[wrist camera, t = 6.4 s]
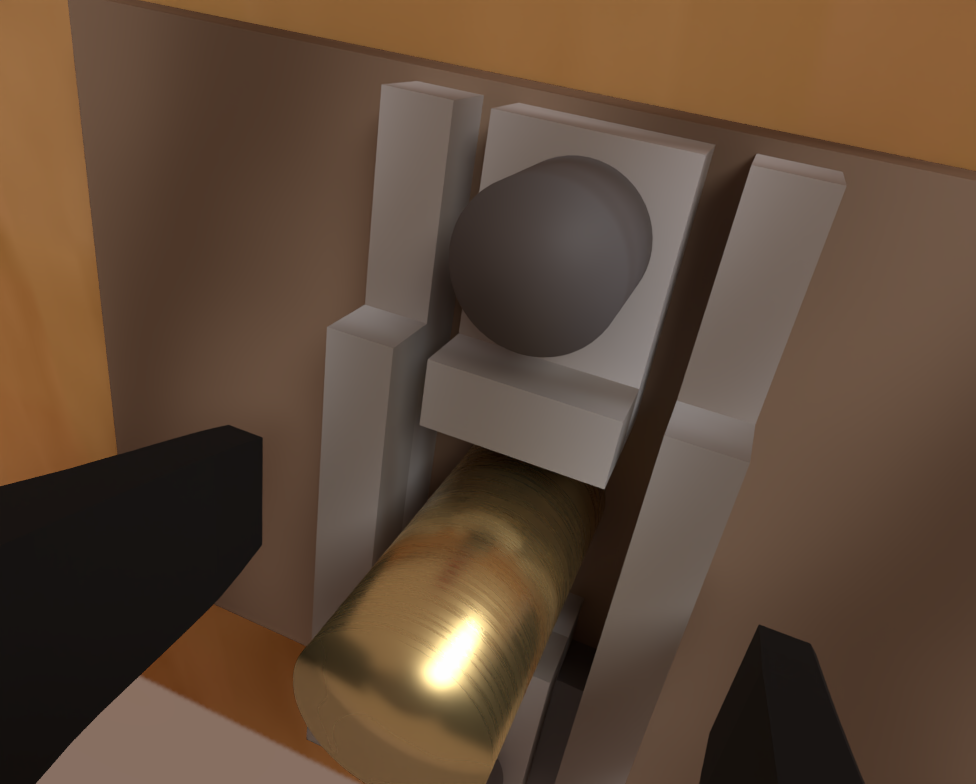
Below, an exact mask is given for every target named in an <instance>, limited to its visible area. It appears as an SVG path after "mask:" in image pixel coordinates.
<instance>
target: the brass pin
mask: <svg viewBox="0 0 976 784" xmlns="http://www.w3.org/2000/svg"><path fill="white" fill-rule="evenodd" d="M605 501H606V493H605V489H602V488H599V487H596V486H593V485H590V484H587V483H584V482H581V481H579V480H576V479H573V478H570V477H567V476H564V475H561V474H559V473H556V472H553V471H550V470H547V469H544V468H541V467H538V466H536V465H533V464H530V463H527V462H524V461H521V460H518V459H515V458H513V457H510V456H507V455H504V454H501V453H498V452H495V451H492V450H490V449H487V448H484V447H481V446H478V445H475V444H474V445H473V446H472V448H471V449H470V450H469V451H468V452H467V454H466V455H465V456H464V457H463V459H462V460H461V461H460V462H459V463H458V465H457V466H456V467H455V468H454V469H453V471H452V472H451V473H450V474H449V475H448V477H447V478H446V479H445V480H444V481H443V483H442V484H441V485H440V486H439V487H438V489H437V490H436V491H435V492H434V493H433V495H432V496H431V497H430V498H429V499H428V501H427V502H426V503H425V504H424V505H423V507H422V508H421V509H420V510H419V512H418V513H417V514H416V515H415V516H414V518H413V519H412V520H411V521H410V522H409V524H408V525H407V526H406V527H405V528H404V530H403V531H402V532H401V533H400V534H399V536H398V537H397V538H396V539H395V540H394V542H393V543H392V544H391V545H390V546H389V548H388V549H387V550H386V551H385V552H384V554H383V555H382V556H381V557H380V558H379V560H378V561H377V562H376V563H375V565H374V566H373V567H372V568H371V569H370V571H369V572H368V573H367V574H366V575H365V577H364V578H363V579H362V580H361V581H360V583H359V584H358V585H357V586H356V587H355V589H354V590H353V591H352V592H351V593H350V595H349V596H348V597H347V598H346V599H345V601H344V602H343V603H342V604H341V605H340V607H339V608H338V609H337V610H336V611H335V613H334V614H333V615H332V616H331V618H330V619H329V620H328V621H327V622H326V624H325V625H324V626H323V627H322V628H321V630H320V631H319V632H318V633H317V634H316V636H315V637H314V638H313V639H312V640H311V642H310V643H309V644H308V645H307V646H306V648H305V649H304V650H303V651H302V653H301V654H300V656H299V657H298V659H297V662H296V664H295V668H294V673H293V688H294V695H295V699H296V702H297V706H298V708H299V710H300V713H301V715H302V717H303V719H304V721H305V723H306V725H307V727H308V728H309V730H310V731H311V733H312V734H313V736H314V737H315V738H316V740H317V741H318V742H319V743H320V745H321V746H322V747H323V748H324V749H325V750H326V751H327V753H328V754H329V755H330V756H331V757H332V758H333V759H334V760H335V761H337V762H338V763H339V764H340V765H341V766H342V767H343V768H345V769H346V770H347V771H348V772H350V773H351V774H352V775H354V776H355V777H357V778H358V779H359V780H361V781H362V782H364V783H366V784H486V782H487V780H488V778H489V776H490V773H491V771H492V769H493V766H494V764H495V762H496V760H497V757H498V755H499V753H500V750H501V748H502V746H503V743H504V741H505V739H506V736H507V734H508V732H509V730H510V727H511V725H512V723H513V720H514V718H515V716H516V713H517V711H518V709H519V707H520V704H521V702H522V700H523V697H524V695H525V693H526V690H527V688H528V686H529V684H530V681H531V679H532V677H533V674H534V672H535V670H536V667H537V665H538V663H539V660H540V658H541V656H542V654H543V651H544V649H545V647H546V644H547V642H548V640H549V637H550V635H551V633H552V631H553V628H554V626H555V624H556V621H557V619H558V617H559V614H560V612H561V610H562V608H563V605H564V603H565V601H566V598H567V596H568V594H569V591H570V589H571V587H572V584H573V582H574V580H575V578H576V575H577V573H578V571H579V568H580V566H581V564H582V561H583V559H584V557H585V555H586V552H587V550H588V548H589V545H590V543H591V541H592V538H593V536H594V534H595V532H596V529H597V527H598V525H599V522H600V520H601V518H602V515H603V512H604V508H605Z"/></svg>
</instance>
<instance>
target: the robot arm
mask: <svg viewBox="0 0 976 784" xmlns="http://www.w3.org/2000/svg"><path fill="white" fill-rule="evenodd" d="M262 493H263V437H260V436H257V435H255V434H252V433H249V432H247V431H244V430H241V429H239V428H236V427H233V426H231V425H225V426H220V427H216V428H211V429H207V430H203V431H199V432H196V433H192V434H188V435H184V436H181V437H177V438H174V439H170V440H167V441H163V442H160V443H156V444H153V445H150V446H146V447H143V448H139V449H136V450H133V451H129V452H126V453H122V454H119V455H115V456H112V457H108V458H105V459H101V460H98V461H94V462H91V463H88V464H84V465H81V466H77V467H74V468H70V469H66V470H62V471H59V472H55V473H51V474H47V475H43V476H39V477H35V478H31V479H27V480H23V481H20V482H16V483H12V484H8V485H4V486H0V784H36V782H37V781H38V780H39V779H40V778H41V777H42V776H43V774H44V773H45V772H46V771H47V770H48V769H49V768H50V767H51V765H52V764H53V763H54V762H55V761H56V760H57V759H58V757H59V756H60V755H61V754H62V753H63V752H64V750H65V749H66V748H67V747H68V746H69V745H70V744H71V743H72V741H73V740H74V739H75V738H76V737H77V736H78V735H79V734H80V733H81V732H82V731H83V730H84V729H85V728H86V727H87V726H88V725H89V724H90V723H91V722H92V721H93V720H94V719H95V718H96V717H97V716H98V715H99V714H100V713H101V712H102V711H103V710H104V709H105V708H106V707H107V706H108V705H109V704H110V703H111V702H112V701H113V700H114V699H115V698H117V697H118V696H119V695H120V694H121V693H122V692H123V691H124V690H125V689H126V688H127V687H128V686H129V685H130V684H131V683H132V682H133V681H134V680H135V679H137V678H138V677H139V676H140V675H141V674H142V673H143V672H144V671H145V670H146V669H147V668H148V667H149V666H150V665H151V664H152V663H153V662H154V661H155V660H156V659H158V658H159V657H160V656H161V655H162V654H163V653H164V652H165V651H166V650H167V649H168V648H169V647H170V646H171V645H172V644H173V643H174V642H175V641H176V640H177V639H179V638H180V637H181V636H182V635H183V634H184V633H185V632H186V631H187V630H188V629H189V628H190V627H191V626H192V625H193V624H194V623H195V622H196V621H197V620H198V619H199V618H200V617H201V616H202V615H203V614H204V613H205V612H206V611H207V610H208V609H209V608H210V607H211V606H212V605H213V604H214V603H215V602H216V601H217V600H218V599H219V598H220V597H221V596H222V595H223V594H224V592H225V591H226V590H227V589H228V588H229V586H230V585H231V584H232V583H233V582H234V580H235V579H236V578H237V577H238V576H239V574H240V573H241V572H242V570H243V569H244V568H245V567H246V565H247V564H248V563H249V561H250V560H251V559H252V557H253V556H254V555H255V554H256V552H257V551H258V550H259V548H260V547H261V546H262ZM699 784H865V782H864V780H863V778H862V775H861V773H860V770H859V768H858V765H857V763H856V761H855V758H854V756H853V753H852V751H851V748H850V745H849V743H848V740H847V738H846V735H845V732H844V730H843V727H842V725H841V722H840V719H839V717H838V714H837V711H836V709H835V706H834V703H833V701H832V698H831V695H830V692H829V689H828V687H827V684H826V681H825V678H824V675H823V672H822V669H821V667H820V664H819V661H818V658H817V655H816V653H815V651H814V649H813V647H812V645H811V644H810V643H808V642H805V641H802V640H800V639H797V638H794V637H792V636H789V635H786V634H784V633H781V632H778V631H776V630H773V629H770V628H768V627H765V626H762V625H760V624H759V625H758V627H757V629H756V632H755V634H754V636H753V638H752V640H751V643H750V645H749V647H748V649H747V651H746V654H745V656H744V658H743V660H742V662H741V665H740V667H739V669H738V671H737V673H736V676H735V678H734V680H733V682H732V684H731V687H730V689H729V691H728V693H727V695H726V698H725V700H724V702H723V704H722V706H721V709H720V711H719V713H718V715H717V717H716V720H715V722H714V724H713V726H712V728H711V731H710V733H709V737H708V742H707V747H706V752H705V757H704V762H703V767H702V771H701V776H700V782H699Z"/></svg>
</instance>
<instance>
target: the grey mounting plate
mask: <svg viewBox="0 0 976 784" xmlns="http://www.w3.org/2000/svg"><path fill="white" fill-rule="evenodd" d="M68 7H69V16H70V25H71V34H72V43H73V52H74V61H75V70H76V79H77V88H78V98H79V107H80V116H81V125H82V134H83V143H84V152H85V161H86V170H87V179H88V189H89V198H90V207H91V216H92V225H93V234H94V243H95V252H96V261H97V270H98V279H99V289H100V298H101V307H102V316H103V325H104V334H105V343H106V352H107V361H108V370H109V379H110V389H111V398H112V407H113V416H114V425H115V434H116V443H117V452H118V455H119V454H122V453H126V452H129V451H133V450H136V449H139V448H143V447H146V446H150V445H153V444H156V443H160V442H163V441H167V440H170V439H174V438H177V437H181V436H184V435H188V434H192V433H196V432H199V431H203V430H207V429H211V428H216V427H220V426H225V425H231V426H233V427H236V428H239V429H241V430H244V431H247V432H249V433H252V434H255V435H257V436H260V437H263V493H262V546H261V547H260V548H259V550H258V551H257V552H256V554H255V555H254V556H253V557H252V559H251V560H250V561H249V563H248V564H247V565H246V567H245V568H244V569H243V570H242V572H241V573H240V574H239V576H238V577H237V578H236V579H235V580H234V582H233V583H232V584H231V585H230V586H229V588H228V589H227V590H226V591H225V592H224V594H223V595H222V596H221V597H220V598H219V599H218V600H217V601H216V602H215V603H214V604H215V605H217V606H219V607H221V608H224V609H226V610H228V611H230V612H232V613H235V614H237V615H239V616H241V617H243V618H246V619H248V620H250V621H252V622H254V623H257V624H259V625H261V626H263V627H265V628H268V629H270V630H272V631H274V632H276V633H279V634H281V635H283V636H285V637H287V638H289V639H292V640H294V641H296V642H298V643H300V644H303V645H305V646H307V645H308V644H309V643H310V642H311V640H312V639H313V638H314V637H315V636H316V634H317V633H318V632H319V631H320V630H321V628H322V627H323V626H324V625H325V624H326V622H327V621H328V620H329V619H330V618H331V616H332V615H333V614H334V613H335V611H336V610H337V609H338V608H339V607H340V605H341V604H342V603H343V602H344V601H345V599H346V598H347V597H348V596H349V595H350V593H351V592H352V591H353V590H354V589H355V587H356V586H357V585H358V584H359V583H360V581H361V580H362V579H363V578H364V577H365V575H366V574H367V573H368V572H369V571H370V569H371V568H372V567H373V566H374V565H375V563H376V562H377V561H378V560H379V558H380V557H381V556H382V555H383V554H384V552H385V551H386V550H387V549H388V548H389V546H390V545H391V544H392V543H393V542H394V540H395V539H396V538H397V537H398V536H399V534H400V533H401V532H402V531H403V530H404V528H405V527H406V526H407V525H408V524H409V522H410V521H411V520H412V519H413V518H414V516H415V515H416V514H417V513H418V512H419V510H420V509H421V508H422V507H423V505H424V504H425V503H426V502H427V501H428V499H429V498H430V497H431V496H432V495H433V493H434V492H435V491H436V490H437V489H438V487H439V486H440V485H441V484H442V483H443V481H444V480H445V479H446V478H447V477H448V475H449V474H450V473H451V472H452V471H453V469H454V468H455V467H456V466H457V465H458V463H459V462H460V461H461V460H462V459H463V457H464V456H465V455H466V454H467V452H468V451H469V450H470V449H471V448H472V446H473V445H474V444H475V445H478V446H481V447H484V448H487V449H490V450H492V451H495V452H498V453H501V454H504V455H507V456H510V457H513V458H515V459H518V460H521V461H524V462H527V463H530V464H533V465H536V466H538V467H541V468H544V469H547V470H550V471H553V472H556V473H559V474H561V475H564V476H567V477H570V478H573V479H576V480H579V481H581V482H584V483H587V484H590V485H593V486H596V487H599V488H602V489H605V493H606V501H605V508H604V512H603V515H602V518H601V520H600V522H599V525H598V527H597V529H596V532H595V534H594V536H593V538H592V541H591V543H590V545H589V548H588V550H587V552H586V555H585V557H584V559H583V561H582V564H581V566H580V568H579V571H578V573H577V575H576V578H575V580H574V582H573V584H572V587H571V589H570V591H569V594H568V596H567V598H566V601H565V603H564V605H563V608H562V610H561V612H560V614H559V617H558V619H557V621H556V624H555V626H554V628H553V631H552V633H551V635H550V637H549V640H548V642H547V644H546V647H545V649H544V651H543V654H542V656H541V658H540V660H539V663H538V665H537V667H536V670H535V672H534V674H533V677H532V679H531V681H530V684H529V686H528V688H527V690H526V693H525V695H524V697H523V700H522V702H521V704H520V707H519V709H518V711H517V713H516V716H515V718H514V720H513V723H512V725H511V727H510V730H509V732H508V734H507V736H506V739H505V741H504V743H503V746H502V748H501V750H500V753H499V755H498V757H497V760H496V762H495V764H494V766H493V769H492V771H491V773H490V776H489V778H488V780H487V782H486V784H699V782H700V776H701V771H702V767H703V762H704V757H705V752H706V747H707V742H708V737H709V733H710V731H711V728H712V726H713V724H714V722H715V720H716V717H717V715H718V713H719V711H720V709H721V706H722V704H723V702H724V700H725V698H726V695H727V693H728V691H729V689H730V687H731V684H732V682H733V680H734V678H735V676H736V673H737V671H738V669H739V667H740V665H741V662H742V660H743V658H744V656H745V654H746V651H747V649H748V647H749V645H750V643H751V640H752V638H753V636H754V634H755V632H756V629H757V627H758V625H759V624H760V625H762V626H765V627H768V628H770V629H773V630H776V631H778V632H781V633H784V634H786V635H789V636H792V637H794V638H797V639H800V640H802V641H805V642H808V643H810V644H811V645H812V647H813V649H814V651H815V653H816V655H817V658H818V661H819V664H820V667H821V669H822V672H823V675H824V678H825V681H826V684H827V687H828V689H829V692H830V695H831V698H832V701H833V703H834V706H835V709H836V711H837V714H838V717H839V719H840V722H841V725H842V727H843V730H844V732H845V735H846V738H847V740H848V743H849V745H850V748H851V751H852V753H853V756H854V758H855V761H856V763H857V765H858V768H859V770H860V773H861V775H862V778H863V780H864V782H865V784H976V171H972V170H967V169H962V168H957V167H952V166H947V165H943V164H938V163H933V162H928V161H923V160H918V159H913V158H908V157H903V156H898V155H894V154H889V153H884V152H879V151H874V150H869V149H864V148H859V147H854V146H850V145H845V144H840V143H835V142H830V141H825V140H820V139H815V138H810V137H805V136H801V135H796V134H791V133H786V132H781V131H776V130H771V129H766V128H761V127H757V126H752V125H747V124H742V123H737V122H732V121H727V120H722V119H717V118H712V117H708V116H703V115H698V114H693V113H688V112H683V111H678V110H673V109H668V108H664V107H659V106H654V105H649V104H644V103H639V102H634V101H629V100H624V99H619V98H615V97H610V96H605V95H600V94H595V93H590V92H585V91H580V90H575V89H571V88H566V87H561V86H556V85H551V84H546V83H541V82H536V81H531V80H526V79H522V78H517V77H512V76H507V75H502V74H497V73H492V72H487V71H482V70H478V69H473V68H468V67H463V66H458V65H453V64H448V63H443V62H438V61H433V60H429V59H424V58H419V57H414V56H409V55H404V54H399V53H394V52H389V51H384V50H380V49H375V48H370V47H365V46H360V45H355V44H350V43H345V42H340V41H336V40H331V39H326V38H321V37H316V36H311V35H306V34H301V33H296V32H291V31H287V30H282V29H277V28H272V27H267V26H262V25H257V24H252V23H247V22H243V21H238V20H233V19H228V18H223V17H218V16H213V15H208V14H203V13H198V12H194V11H189V10H184V9H179V8H174V7H169V6H164V5H159V4H154V3H150V2H145V1H140V0H68ZM307 740H309V741H311V742H313V743H316V744H318V745H320V743H319V742H318V741H317V740H316V738H315V737H314V736H313V734H312V733H311V731H310V730H309V728H308V727H307ZM320 746H321V745H320Z"/></svg>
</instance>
